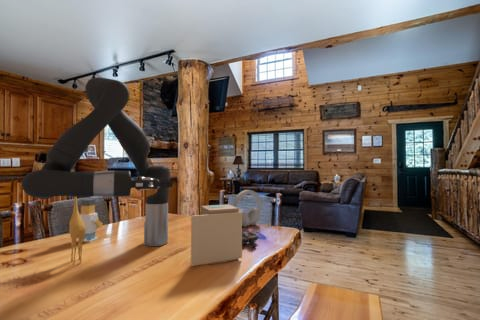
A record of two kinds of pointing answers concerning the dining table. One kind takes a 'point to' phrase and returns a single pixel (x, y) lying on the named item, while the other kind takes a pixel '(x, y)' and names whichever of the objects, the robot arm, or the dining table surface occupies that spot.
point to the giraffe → (76, 231)
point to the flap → (216, 237)
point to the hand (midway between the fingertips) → (169, 182)
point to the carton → (218, 210)
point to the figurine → (249, 238)
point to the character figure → (90, 219)
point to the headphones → (253, 213)
